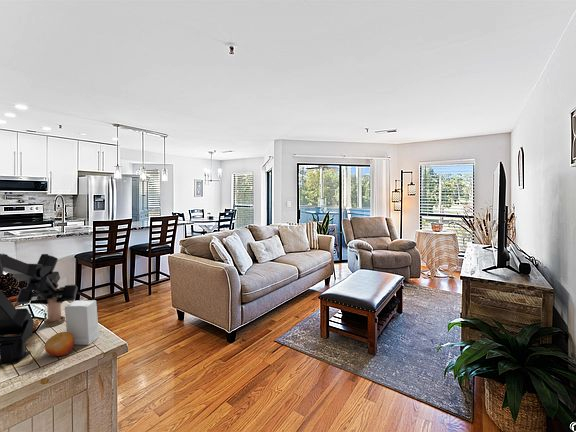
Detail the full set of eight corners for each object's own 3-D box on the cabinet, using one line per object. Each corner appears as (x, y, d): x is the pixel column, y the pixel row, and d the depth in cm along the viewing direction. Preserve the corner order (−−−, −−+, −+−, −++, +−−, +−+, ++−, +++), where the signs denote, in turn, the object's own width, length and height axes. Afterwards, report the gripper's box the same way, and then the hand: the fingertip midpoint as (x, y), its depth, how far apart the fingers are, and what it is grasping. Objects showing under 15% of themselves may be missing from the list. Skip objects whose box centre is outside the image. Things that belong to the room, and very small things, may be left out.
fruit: (84, 341, 106) (74, 328, 101) (69, 363, 99) (57, 350, 95) (64, 340, 107) (53, 327, 102) (47, 361, 100) (35, 348, 96)
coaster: (58, 326, 120) (58, 322, 120) (39, 326, 119) (39, 323, 119) (68, 318, 127) (68, 315, 127) (50, 319, 126) (50, 316, 126)
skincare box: (99, 337, 112) (98, 299, 111) (88, 346, 106) (87, 306, 105) (77, 337, 112) (76, 299, 111) (65, 345, 106) (64, 305, 105)
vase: (56, 321, 121) (55, 288, 120) (45, 321, 120) (44, 288, 119) (63, 317, 125) (62, 285, 124) (52, 317, 124) (51, 285, 123)
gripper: (75, 265, 120) (85, 284, 131) (19, 268, 114) (35, 287, 126) (68, 290, 113) (79, 307, 124) (8, 294, 107) (25, 312, 119)
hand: (55, 303), depth 123 cm, fingers closed on vase, 4 cm apart
